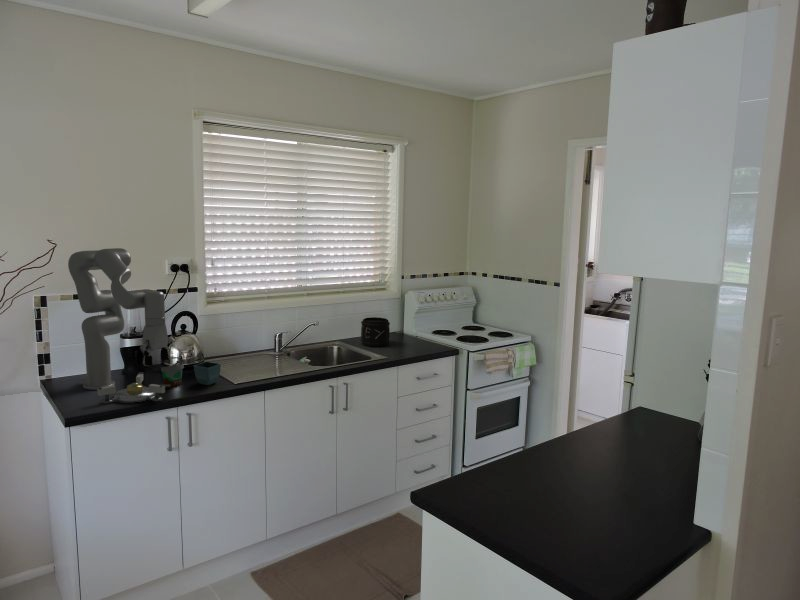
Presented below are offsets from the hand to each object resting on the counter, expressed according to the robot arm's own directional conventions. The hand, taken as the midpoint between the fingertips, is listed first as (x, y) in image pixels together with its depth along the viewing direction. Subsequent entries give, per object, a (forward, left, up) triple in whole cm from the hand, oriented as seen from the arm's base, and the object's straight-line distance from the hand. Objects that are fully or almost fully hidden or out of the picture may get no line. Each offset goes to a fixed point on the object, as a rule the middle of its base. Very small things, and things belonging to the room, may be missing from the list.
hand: (156, 362), depth 236 cm
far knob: (0, 0, -15) cm, 15 cm away
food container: (-6, +20, -17) cm, 27 cm away
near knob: (-17, -9, -15) cm, 25 cm away
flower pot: (+5, +28, -17) cm, 33 cm away
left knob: (-17, +10, -15) cm, 25 cm away
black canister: (+50, +136, -17) cm, 146 cm away
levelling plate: (-9, 0, -16) cm, 18 cm away
